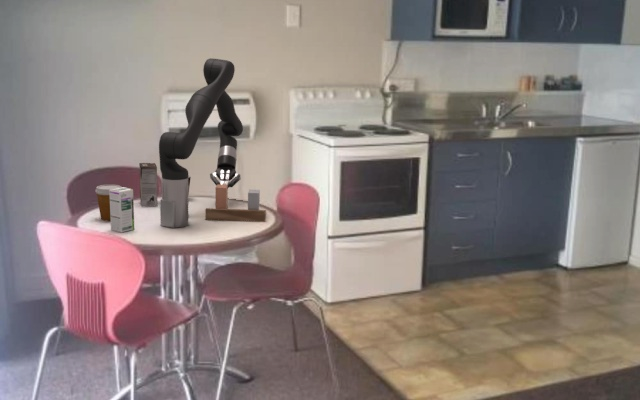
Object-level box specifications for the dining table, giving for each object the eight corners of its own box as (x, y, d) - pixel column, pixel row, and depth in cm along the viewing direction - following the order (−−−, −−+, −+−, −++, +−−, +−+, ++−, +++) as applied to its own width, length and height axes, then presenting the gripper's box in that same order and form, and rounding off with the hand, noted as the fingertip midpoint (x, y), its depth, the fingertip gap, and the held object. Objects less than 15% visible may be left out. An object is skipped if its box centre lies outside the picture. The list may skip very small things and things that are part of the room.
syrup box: (121, 232, 229) (120, 191, 226) (110, 229, 232) (108, 188, 229) (134, 229, 234) (133, 188, 230) (123, 226, 237) (122, 186, 234)
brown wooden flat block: (209, 212, 262) (209, 202, 261) (266, 213, 263) (266, 204, 262) (205, 219, 250) (205, 209, 249) (264, 221, 251) (264, 211, 250)
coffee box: (139, 201, 274) (139, 162, 271) (156, 201, 276) (155, 162, 273) (141, 207, 266) (140, 166, 262) (157, 206, 268) (157, 166, 264)
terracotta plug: (217, 209, 266) (217, 184, 264) (227, 209, 266) (227, 184, 264) (215, 212, 260) (215, 187, 258) (225, 213, 260) (226, 187, 258)
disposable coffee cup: (126, 216, 251) (126, 184, 248) (118, 222, 242) (117, 190, 239) (101, 215, 251) (100, 183, 248) (92, 221, 242) (91, 189, 239)
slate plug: (248, 214, 259) (249, 189, 257) (259, 215, 259) (259, 189, 257) (247, 218, 253) (248, 192, 251) (258, 219, 253) (258, 193, 251)
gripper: (210, 153, 274) (206, 189, 265) (242, 154, 275) (239, 190, 266) (211, 164, 281) (207, 199, 271) (243, 165, 281) (240, 200, 272)
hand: (223, 194), depth 268 cm, fingers closed
